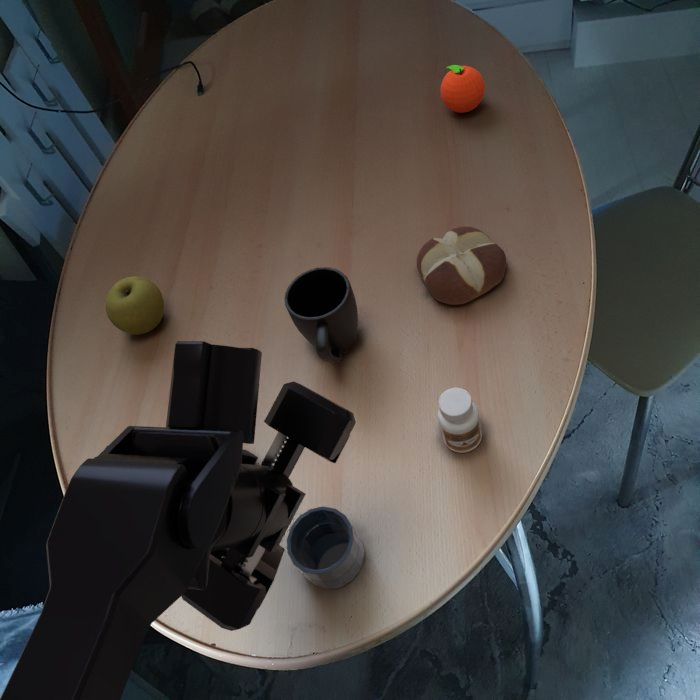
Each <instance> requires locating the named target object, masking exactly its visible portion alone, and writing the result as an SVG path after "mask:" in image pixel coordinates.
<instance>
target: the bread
mask: <svg viewBox="0 0 700 700" xmlns="http://www.w3.org/2000/svg"><path fill="white" fill-rule="evenodd" d="M506 266H507V256H506V253H505V251H504V250H503V248H501V247H500V246H499V245H498V243H494V242H493V241H492V239H491V238H490V236H489V235H487V234H486V233H485V232H484V231H482V230H480V229H478V228H476V227H472V226H459V227H454V228H452V229H450V230H447V231H446V233H444V235H443V237H442V238H439V237H433V238H430V239H429V240H428V241H426V242H425V243H424V244H423V245H422V246H421V248H420V250H419V251H418V253H417V257H416V268H417V272H418V274H419V276H420V278H421V279H422V281H423V282H424V285H425V287H426V289H427V290H428V292H429V293H430V295H431V296H432V297H433V298H434V299H435V300H437V301H438V302H441V303H442V304H443V303H444V304H446V305H454V306H455V305H463V304H467V303H469V302H471V301H473V300H474V299H476V298H478V297H480V296H482V295H484V294H486V293H487V292H489V291H490V290H492V288H494V287H496V286H497V285H498V284H501V282H502V280H503V279H504V276H505V274H506V273H505V272H506Z"/></svg>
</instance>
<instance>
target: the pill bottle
mask: <svg viewBox="0 0 700 700" xmlns="http://www.w3.org/2000/svg"><path fill="white" fill-rule="evenodd" d="M436 417H437V421H438V425H439V428H440V434H441V437H442V441H443V443H444V445H445V446H446V447H447V448H448V450H451V451H453V452H455V453H460V454H464V453H468V452H469V453H470V451H473V450H474V449H476V448H477V447H478V446H479V444H481V441H482V438H483V432H482V424H481V419H480V412H479V408H478V406H477V404H476V403H475V402H474V400H473V399H472V396H471V394H470V393H469V392H468V391H467V390H466V389H464V388H461V387H450V388H448V389H446V390H445V391H443V392H442V393H441V394H440V396H439V398H438V410H437V416H436Z"/></svg>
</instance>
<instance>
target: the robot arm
mask: <svg viewBox="0 0 700 700" xmlns="http://www.w3.org/2000/svg"><path fill="white" fill-rule="evenodd" d="M262 354H263V353H262V351H261V350H260V349H257V348H255V347H238V346H237V347H236V346H229V345H223V344H214V343H213V344H211V343H209V342H207V341H205V340H204V341H203V340H199V341H198V340H177V341H176V342H175V345H174V351H173V360H172V369H171V377H170V378H171V379H170V386H169V396H168V404H167V414H166V421H165V427H163V426H162V427H161V426H143V425H141V426H140V425H138V426H137V425H129V426H126V428H124V430H123V431H122V432H121V433H120V434H119V435H118V436H116V437H115V438H114V440H113V441H111V442H110V443H109V444H108V445H106V447H105V448H104V449H103V450H102V451H101V452H100V453H99V454H98V455H97V456H95V457H93V458H86V459H85V460H84V461H83V462H82V463H81V464H80V465H79V467H78V468H77V469H76V471H75V472H74V474H73V475H72V477H71V478H70V480H69V483H68V485H67V487H66V488H65V489H66V490H65V492H64V495H63V496H62V497H63V498H62V500H61V503H60V505H59V508H58V510H57V513H56V516H55V518H54V522H53V524H52V527H51V529H50V532H49V535H48V538H47V540H46V547H45V549H46V557H47V559H46V560H47V571H48V581H49V589H48V593H47V595H46V598H45V599H44V603H43V606H42V608H41V611H40V614H39V616H38V618H37V620H36V622H35V624H34V627H33V629H32V631H31V632H30V635H29V637H28V638H27V641H26V643H25V646H24V648H23V650H22V652H21V654H20V655H19V658H18V660H17V663H16V665H14V668H13V671H12V673H11V674H10V676H9V679H8V681H7V683H6V685H5V687H4V689H3V692H2V694H1V696H0V700H121V698H122V697H123V694H124V691H125V688H126V686H127V683H128V681H129V678H130V675H131V674H132V673H131V672H132V670H133V667H134V665H135V662H136V659H137V656H138V654H139V651H140V648H141V646H142V644H143V642H144V639H145V638H146V635H147V633H148V631H149V629H150V627H151V626H152V624H153V623H154V622H155V621H156V620H157V619H158V618H159V617H160V616H161V615H163V614H164V612H166V611H167V610H168V609H169V608H170V607H172V606H173V604H174V603H176V602H177V600H179V599H180V598H181V599H182V600H183V601H184V602H185V603H187V604H188V605H190V606H191V607H192V608H194V610H196V611H198V612H199V613H200V614H202V615H203V616H204V617H206V618H207V619H208V620H210V621H212V622H213V623H214V624H216V626H218V627H220V628H221V629H223V630H227V631H230V632H233V631H237V630H241V629H243V628H245V627H247V626H249V625H251V623H252V622H253V621H252V620H253V619H254V617H255V616H256V614H257V611H258V610H259V609H260V608H261V606H262V604H263V602H264V601H265V598H266V596H267V594H268V592H269V591H270V589H271V587H272V585H273V583H274V582H275V578H276V576H277V573H278V570H279V567H280V564H281V561H282V558H283V555H284V552H285V547H284V546H282V545H280V544H281V542H282V540H283V538H284V536H285V534H286V532H287V531H288V529H289V527H290V525H291V523H292V521H293V519H294V518H295V516H296V514H297V512H298V510H299V508H300V506H301V504H302V502H303V500H304V498H305V497H306V494H307V493H306V492H304V491H302V490H300V488H299V489H298V488H297V487H295V486H294V484H293V482H292V481H291V479H290V476H291V475H292V472H293V470H294V469H295V467H296V465H297V463H298V461H299V460H300V458H301V456H302V455H303V451H304V450H305V448H306V449H308V450H309V451H311V452H312V453H314V454H316V455H318V456H319V457H321V458H322V459H325V460H326V461H328V462H330V463H332V464H336V463H337V462H338V460H339V458H340V456H341V455H342V452H343V450H344V449H345V446H346V445H347V442H348V440H349V438H350V436H351V433H352V431H353V429H354V427H355V425H356V423H357V421H356V418H355V414H354V412H353V411H351V410H349V409H347V408H345V407H343V406H341V405H339V404H338V403H337V402H336V403H335V402H334V401H333V400H331V399H329V398H326V397H325V396H323V395H321V394H320V393H317V392H316V391H314V390H313V389H310V388H309V387H307V386H305V385H304V384H301V383H300V382H299V383H298V382H297V381H290V382H287V383H283V385H282V387H281V389H280V391H279V392H278V394H277V396H276V398H275V400H274V402H273V404H272V405H271V408H269V411H268V413H267V415H266V416H265V419H264V420H263V422H264V423H265V424H266V425H267V426H268V427H270V428H272V429H273V430H275V431H276V432H277V434H276V435H275V437H274V439H273V441H272V443H271V445H270V446H269V448H268V450H267V452H266V454H265V455H264V458H263V460H262V461H261V464H258V463H257V461H258V459H259V457H258V456H257V455H256V454H254V453H252V452H251V451H249V450H247V449H244V444H247V445H248V444H249V445H255V436H256V425H257V415H258V414H257V413H258V401H259V393H260V392H259V390H260V380H261V379H260V378H261V368H262V357H263V355H262Z"/></svg>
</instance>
